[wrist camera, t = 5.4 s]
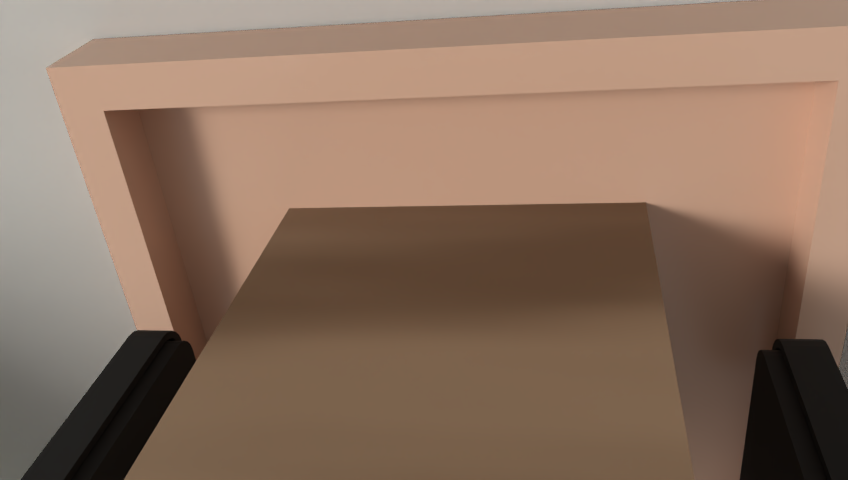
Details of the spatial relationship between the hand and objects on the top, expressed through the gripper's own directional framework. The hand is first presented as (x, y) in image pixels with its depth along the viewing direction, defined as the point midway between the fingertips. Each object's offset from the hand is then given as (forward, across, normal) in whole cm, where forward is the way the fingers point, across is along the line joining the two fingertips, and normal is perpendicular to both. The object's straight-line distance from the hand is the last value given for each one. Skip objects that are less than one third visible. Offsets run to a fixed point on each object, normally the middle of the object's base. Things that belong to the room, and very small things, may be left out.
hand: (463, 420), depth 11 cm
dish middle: (+2, 0, 0) cm, 2 cm away
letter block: (+2, 0, 0) cm, 2 cm away
